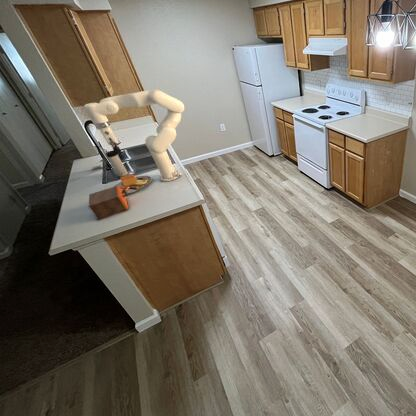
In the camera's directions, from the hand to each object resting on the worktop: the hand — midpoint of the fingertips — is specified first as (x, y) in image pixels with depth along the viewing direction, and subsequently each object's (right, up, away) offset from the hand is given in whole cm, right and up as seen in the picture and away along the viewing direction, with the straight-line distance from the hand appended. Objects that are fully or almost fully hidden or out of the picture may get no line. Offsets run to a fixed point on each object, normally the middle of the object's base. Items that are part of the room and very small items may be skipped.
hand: (118, 153), depth 168 cm
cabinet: (-2, -36, -3) cm, 36 cm away
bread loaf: (-5, -17, +17) cm, 25 cm away
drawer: (0, -34, -2) cm, 34 cm away
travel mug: (-24, -10, +35) cm, 44 cm away
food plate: (-5, -20, +19) cm, 28 cm away
